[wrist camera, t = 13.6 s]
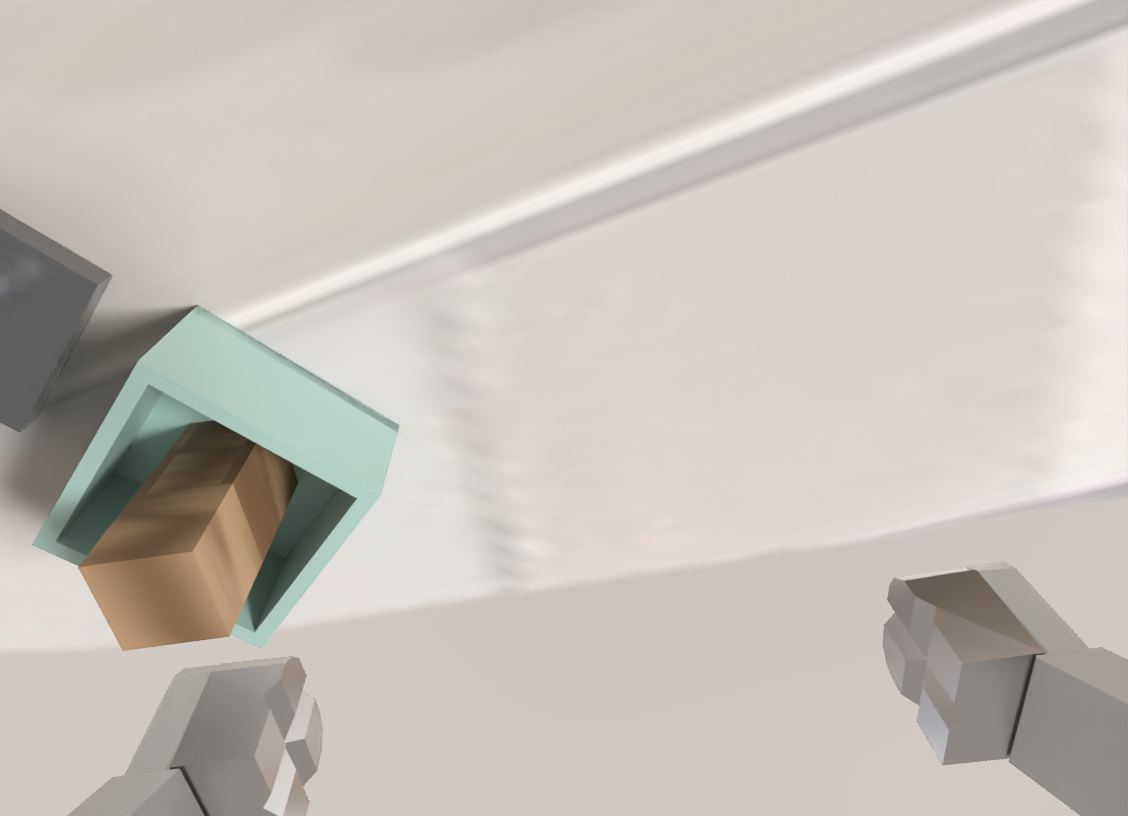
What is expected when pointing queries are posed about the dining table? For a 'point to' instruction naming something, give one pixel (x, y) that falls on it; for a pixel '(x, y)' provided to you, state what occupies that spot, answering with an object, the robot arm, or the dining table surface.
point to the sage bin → (254, 410)
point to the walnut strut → (190, 539)
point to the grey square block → (39, 315)
